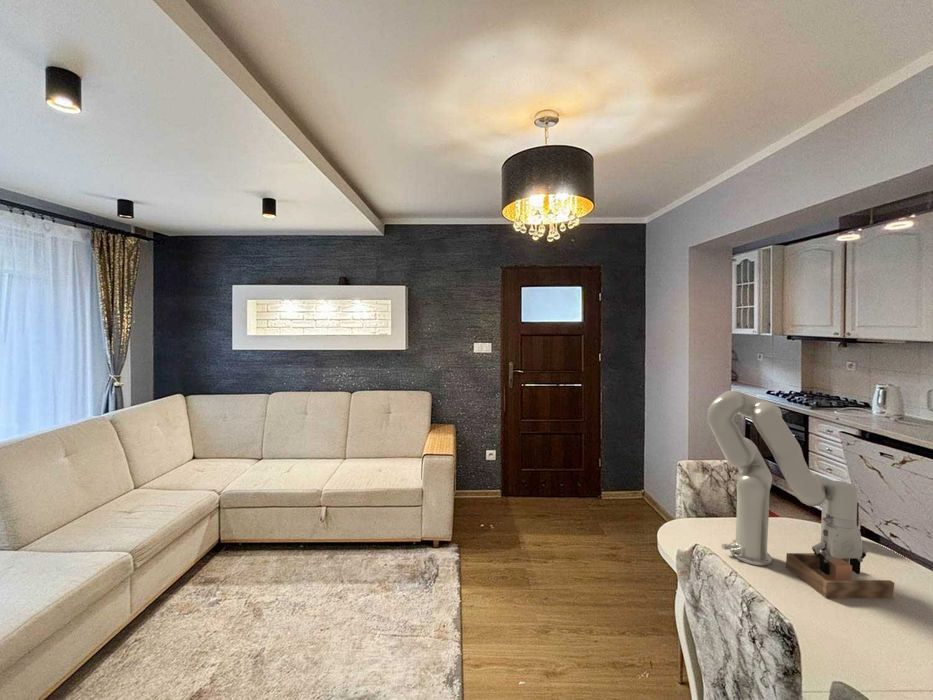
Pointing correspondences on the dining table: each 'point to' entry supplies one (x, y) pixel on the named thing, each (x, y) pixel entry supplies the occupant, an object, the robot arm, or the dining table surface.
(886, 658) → the dining table surface
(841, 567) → the terracotta block
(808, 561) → the brown wooden u-shaped block
